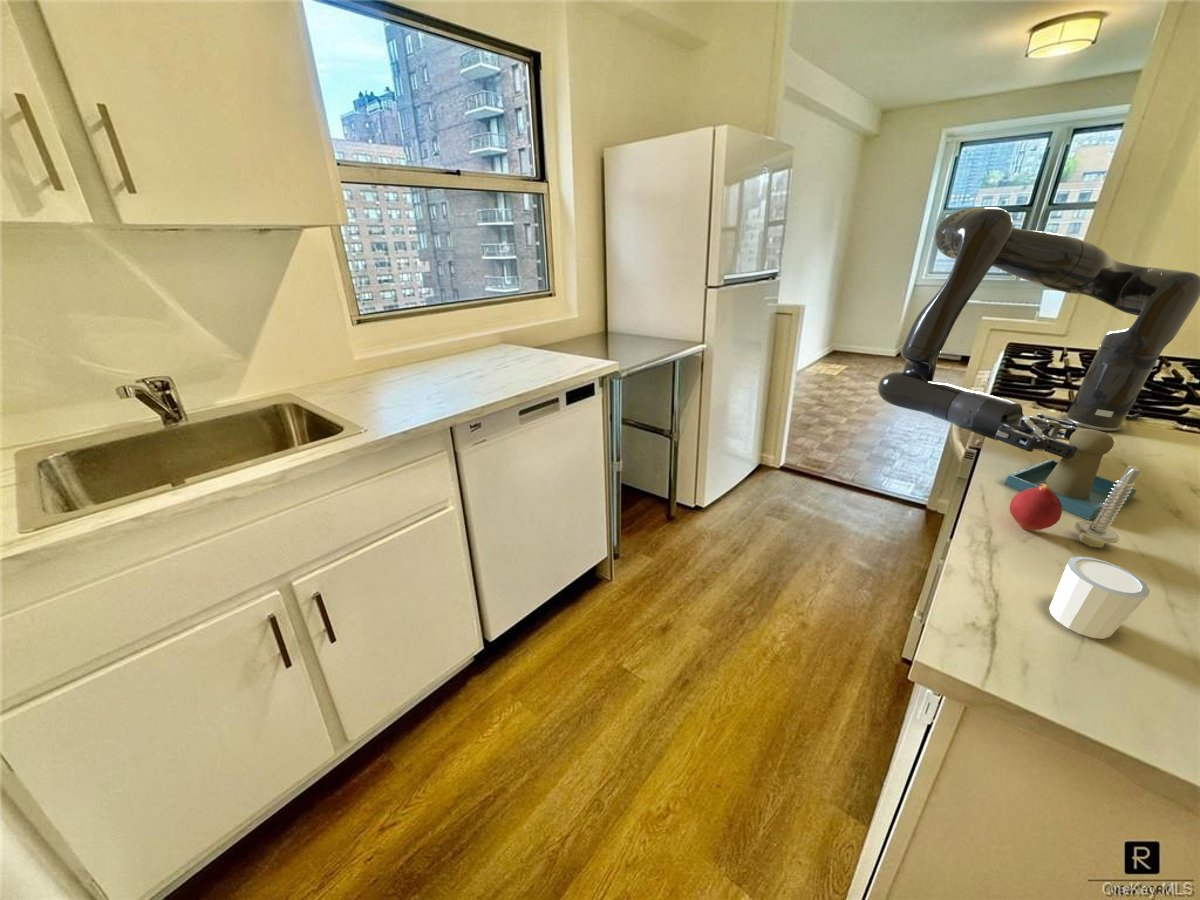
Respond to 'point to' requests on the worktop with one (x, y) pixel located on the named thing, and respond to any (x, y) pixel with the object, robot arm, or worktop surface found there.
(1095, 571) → the white faceted cylinder
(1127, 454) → the worktop surface
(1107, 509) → the screw
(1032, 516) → the onion
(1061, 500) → the tray
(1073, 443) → the cork
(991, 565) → the worktop surface
